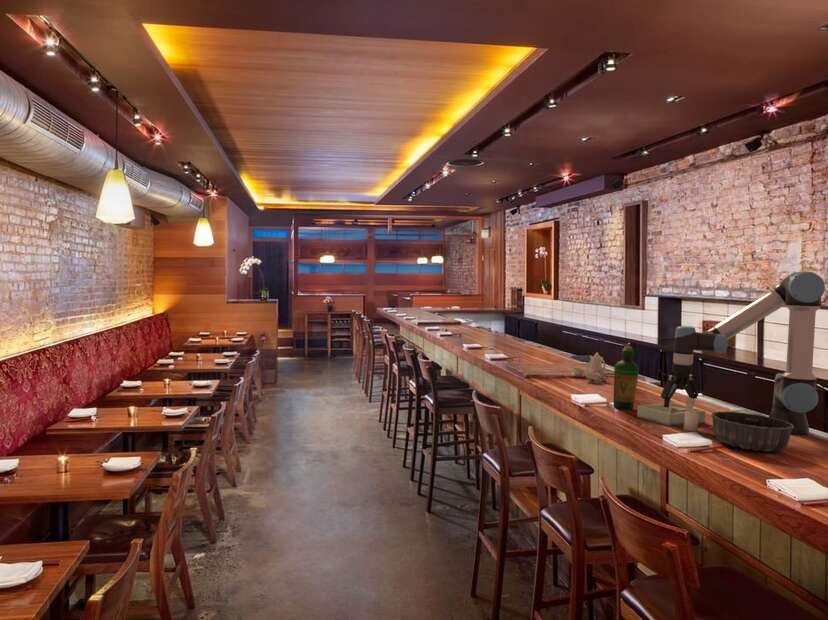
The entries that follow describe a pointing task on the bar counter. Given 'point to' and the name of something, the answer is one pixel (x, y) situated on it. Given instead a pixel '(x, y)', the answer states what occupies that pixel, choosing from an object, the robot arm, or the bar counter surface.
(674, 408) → the cube
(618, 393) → the bottle
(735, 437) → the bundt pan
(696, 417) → the cylinder
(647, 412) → the tote
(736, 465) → the bar counter surface
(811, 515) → the bar counter surface
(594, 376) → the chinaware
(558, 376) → the bar counter surface
